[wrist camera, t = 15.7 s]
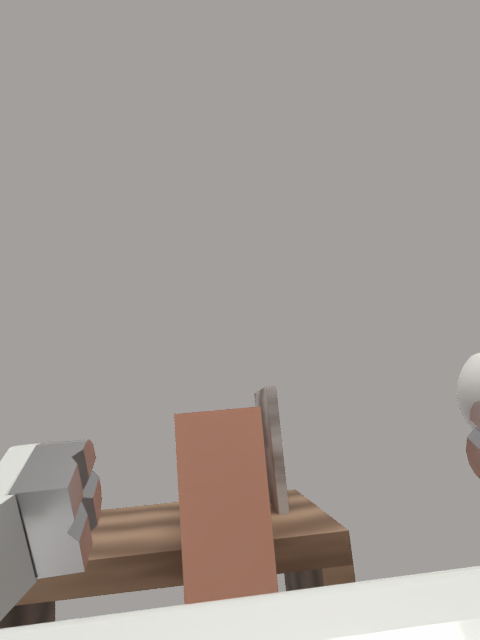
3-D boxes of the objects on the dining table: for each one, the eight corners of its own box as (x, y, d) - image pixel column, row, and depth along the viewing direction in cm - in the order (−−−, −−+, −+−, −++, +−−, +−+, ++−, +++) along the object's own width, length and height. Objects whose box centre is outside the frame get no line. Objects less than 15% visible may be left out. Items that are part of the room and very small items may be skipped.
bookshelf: (30, 842, 38) (35, 413, 46) (328, 793, 40) (284, 391, 48) (-120, 1198, 21) (-71, 407, 28) (420, 1076, 23) (328, 374, 31)
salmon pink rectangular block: (198, 505, 42) (192, 418, 44) (240, 500, 42) (233, 415, 44) (184, 607, 19) (174, 414, 21) (278, 596, 19) (260, 406, 21)
